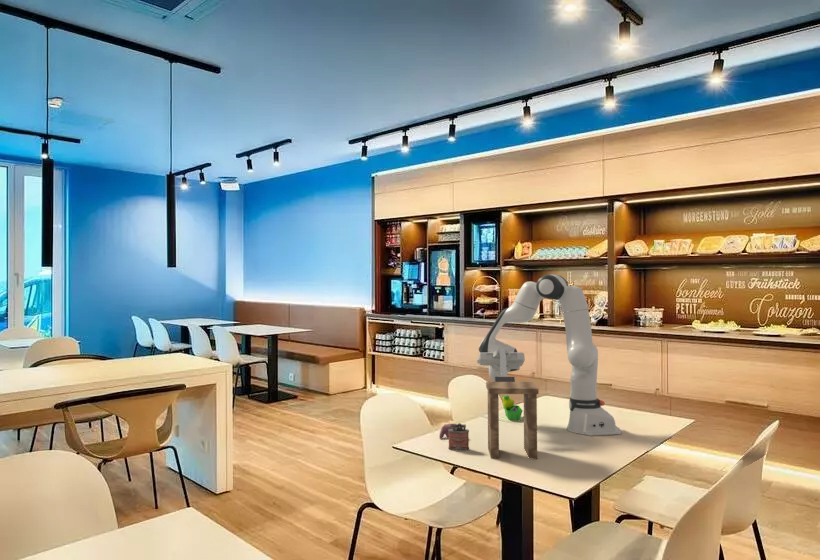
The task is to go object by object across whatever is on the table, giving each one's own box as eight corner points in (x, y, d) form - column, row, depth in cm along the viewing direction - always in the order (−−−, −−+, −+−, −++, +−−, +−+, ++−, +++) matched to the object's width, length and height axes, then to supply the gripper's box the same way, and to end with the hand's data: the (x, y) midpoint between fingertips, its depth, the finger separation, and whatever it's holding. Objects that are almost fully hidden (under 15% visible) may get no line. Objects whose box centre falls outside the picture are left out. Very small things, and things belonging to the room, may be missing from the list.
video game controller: (463, 442, 227) (465, 425, 230) (461, 440, 223) (463, 423, 226) (440, 440, 230) (442, 424, 233) (438, 438, 226) (440, 421, 229)
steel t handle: (510, 350, 238) (511, 346, 235) (514, 389, 228) (515, 385, 225) (492, 350, 239) (493, 346, 235) (495, 389, 229) (495, 385, 225)
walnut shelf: (532, 448, 213) (532, 382, 213) (539, 459, 199) (538, 388, 199) (486, 447, 214) (486, 381, 214) (489, 459, 200) (489, 388, 200)
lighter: (469, 448, 214) (468, 422, 214) (469, 450, 210) (468, 424, 210) (448, 447, 214) (448, 422, 215) (448, 450, 211) (448, 424, 211)
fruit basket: (523, 421, 256) (522, 397, 256) (504, 421, 256) (504, 397, 256) (518, 415, 267) (518, 392, 267) (500, 415, 267) (500, 392, 267)
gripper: (476, 357, 249) (478, 344, 237) (521, 357, 248) (525, 344, 236) (477, 370, 246) (478, 358, 234) (522, 370, 244) (526, 358, 233)
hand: (502, 351), depth 235 cm, fingers closed on steel t handle, 2 cm apart
